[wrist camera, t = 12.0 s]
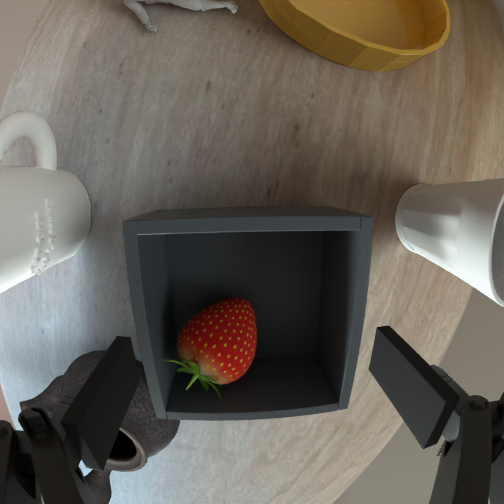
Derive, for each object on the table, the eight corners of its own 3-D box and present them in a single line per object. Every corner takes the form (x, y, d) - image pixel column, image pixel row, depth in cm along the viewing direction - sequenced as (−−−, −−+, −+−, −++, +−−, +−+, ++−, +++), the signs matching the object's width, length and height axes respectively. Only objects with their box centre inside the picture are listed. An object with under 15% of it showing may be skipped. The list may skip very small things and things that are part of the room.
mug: (111, 126, 20) (20, 85, 8) (91, 267, 22) (3, 326, 11) (38, 123, 19) (-55, 102, 7) (23, 250, 21) (-66, 287, 10)
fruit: (278, 296, 19) (214, 399, 15) (276, 333, 23) (225, 417, 18) (211, 269, 21) (142, 354, 17) (220, 308, 25) (166, 382, 20)
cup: (377, 186, 22) (481, 192, 11) (443, 167, 22) (542, 167, 11) (395, 273, 24) (486, 328, 12) (456, 246, 24) (546, 279, 12)
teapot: (44, 319, 23) (-14, 369, 13) (189, 362, 25) (172, 444, 15) (65, 437, 27) (38, 487, 17) (174, 471, 28) (165, 532, 19)
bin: (331, 206, 23) (373, 216, 15) (321, 357, 25) (347, 409, 18) (157, 210, 22) (122, 221, 14) (173, 363, 25) (156, 418, 17)
